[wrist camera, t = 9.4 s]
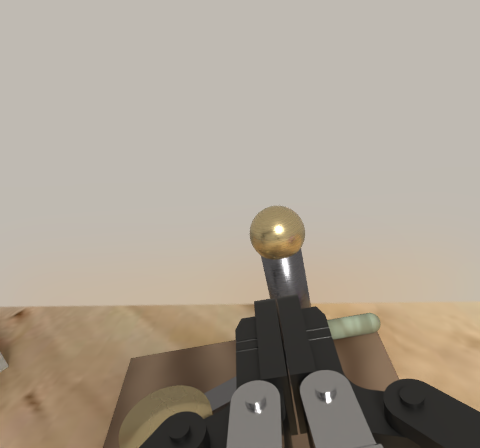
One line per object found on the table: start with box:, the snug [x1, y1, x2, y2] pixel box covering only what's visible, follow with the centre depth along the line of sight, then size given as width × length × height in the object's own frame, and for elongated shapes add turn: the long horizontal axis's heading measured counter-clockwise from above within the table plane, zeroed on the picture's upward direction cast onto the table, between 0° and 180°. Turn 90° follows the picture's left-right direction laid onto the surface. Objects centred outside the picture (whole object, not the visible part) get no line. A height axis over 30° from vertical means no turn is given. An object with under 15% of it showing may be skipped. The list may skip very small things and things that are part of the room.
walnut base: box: [103, 313, 399, 448], centre depth 34 cm, size 24×18×3 cm
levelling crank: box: [119, 206, 311, 448], centre depth 32 cm, size 18×7×15 cm, turn 116°
